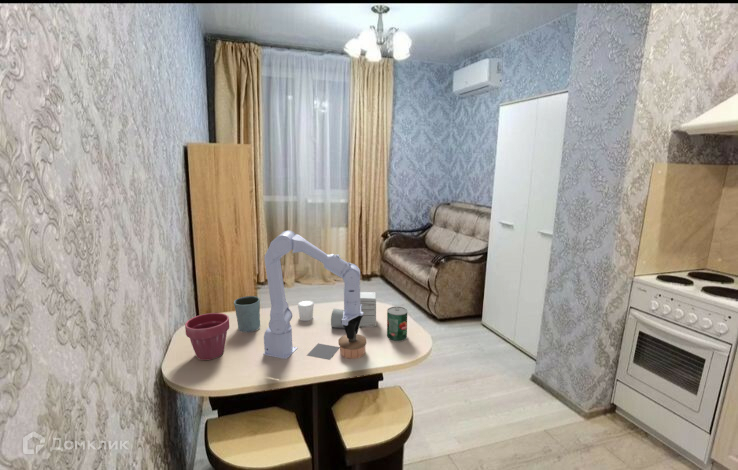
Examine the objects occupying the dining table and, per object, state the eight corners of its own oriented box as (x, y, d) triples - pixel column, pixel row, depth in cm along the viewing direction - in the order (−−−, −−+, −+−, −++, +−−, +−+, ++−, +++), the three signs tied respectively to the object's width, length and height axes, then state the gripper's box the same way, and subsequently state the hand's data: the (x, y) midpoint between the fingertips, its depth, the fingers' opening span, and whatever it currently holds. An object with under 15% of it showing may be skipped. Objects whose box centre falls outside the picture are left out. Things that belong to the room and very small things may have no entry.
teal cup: (254, 334, 147) (252, 305, 144) (231, 332, 148) (228, 304, 146) (265, 323, 157) (264, 296, 154) (243, 321, 158) (241, 295, 156)
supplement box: (359, 319, 161) (359, 291, 158) (376, 319, 160) (376, 291, 158) (358, 326, 153) (357, 298, 151) (375, 327, 153) (376, 298, 151)
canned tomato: (408, 341, 141) (408, 314, 139) (387, 341, 141) (387, 314, 139) (405, 332, 149) (406, 306, 146) (386, 332, 149) (386, 306, 146)
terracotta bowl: (336, 356, 130) (335, 346, 129) (345, 344, 138) (345, 335, 137) (360, 361, 127) (360, 350, 126) (368, 348, 135) (368, 338, 135)
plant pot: (210, 341, 141) (208, 309, 139) (240, 348, 136) (237, 315, 133) (179, 359, 128) (175, 325, 126) (210, 368, 123) (206, 332, 120)
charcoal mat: (306, 356, 130) (306, 355, 130) (318, 344, 139) (318, 343, 139) (329, 360, 127) (329, 359, 127) (340, 348, 136) (340, 347, 136)
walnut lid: (334, 346, 129) (333, 336, 128) (344, 334, 138) (344, 324, 137) (360, 351, 126) (360, 341, 125) (370, 338, 135) (370, 328, 134)
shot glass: (317, 317, 163) (316, 302, 161) (306, 322, 157) (306, 307, 156) (305, 313, 166) (305, 298, 165) (294, 319, 161) (294, 303, 159)
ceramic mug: (350, 331, 149) (350, 313, 148) (330, 330, 150) (330, 312, 149) (354, 320, 159) (354, 304, 158) (335, 319, 160) (335, 303, 159)
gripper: (355, 309, 121) (355, 347, 123) (369, 294, 134) (369, 328, 137) (335, 306, 123) (336, 343, 126) (351, 291, 136) (351, 325, 139)
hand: (352, 335), depth 131 cm, fingers open, 3 cm apart
